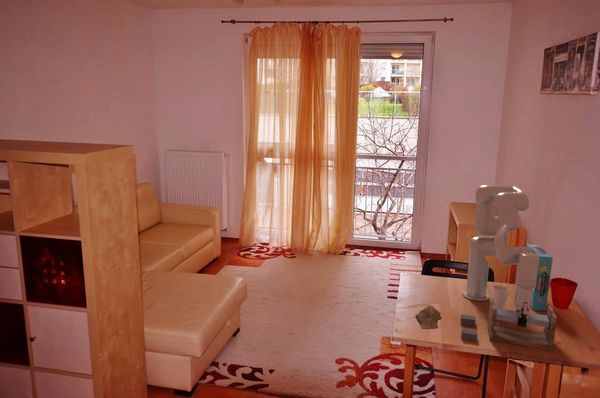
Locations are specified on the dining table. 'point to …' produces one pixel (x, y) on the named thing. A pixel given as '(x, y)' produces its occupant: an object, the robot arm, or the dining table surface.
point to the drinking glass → (499, 296)
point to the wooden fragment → (428, 317)
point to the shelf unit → (522, 332)
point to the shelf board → (513, 315)
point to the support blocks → (468, 333)
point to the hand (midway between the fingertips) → (520, 322)
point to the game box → (541, 278)
